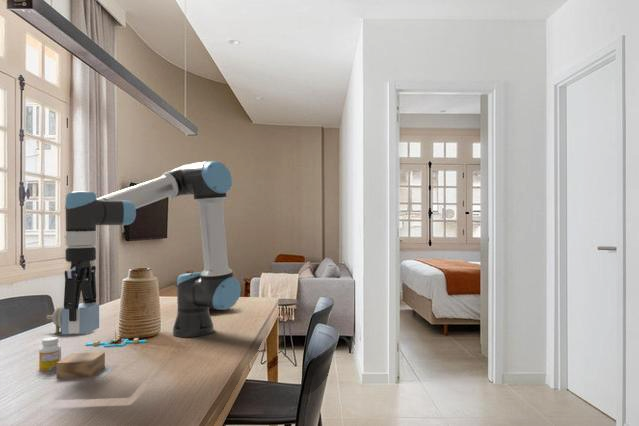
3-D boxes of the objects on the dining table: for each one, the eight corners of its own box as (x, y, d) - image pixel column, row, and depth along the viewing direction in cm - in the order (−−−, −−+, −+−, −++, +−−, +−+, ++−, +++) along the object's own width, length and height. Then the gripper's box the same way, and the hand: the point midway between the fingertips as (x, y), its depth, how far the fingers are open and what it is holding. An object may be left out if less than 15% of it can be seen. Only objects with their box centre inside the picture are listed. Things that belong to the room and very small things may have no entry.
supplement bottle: (45, 370, 135) (45, 336, 135) (64, 369, 135) (64, 336, 136) (35, 376, 130) (35, 341, 130) (55, 375, 130) (55, 340, 130)
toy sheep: (86, 334, 178) (86, 305, 178) (39, 336, 176) (39, 306, 176) (95, 327, 189) (95, 300, 189) (51, 329, 186) (51, 302, 186)
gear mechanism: (90, 343, 167) (82, 350, 158) (90, 328, 167) (82, 334, 158) (149, 339, 170) (144, 346, 161) (148, 324, 170) (143, 331, 161)
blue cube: (99, 327, 132) (99, 303, 132) (88, 333, 125) (88, 307, 125) (74, 328, 132) (74, 303, 132) (61, 334, 125) (61, 308, 125)
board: (117, 370, 134) (117, 365, 134) (103, 382, 124) (103, 377, 124) (61, 372, 133) (61, 366, 133) (42, 384, 123) (42, 378, 123)
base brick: (104, 366, 133) (104, 352, 133) (91, 376, 124) (90, 361, 124) (72, 367, 132) (72, 353, 132) (56, 377, 123) (56, 362, 123)
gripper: (83, 245, 138) (83, 322, 138) (47, 249, 119) (47, 339, 118) (109, 244, 139) (109, 321, 138) (77, 248, 119) (77, 338, 118)
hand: (81, 329), depth 128 cm, fingers closed on blue cube, 7 cm apart
